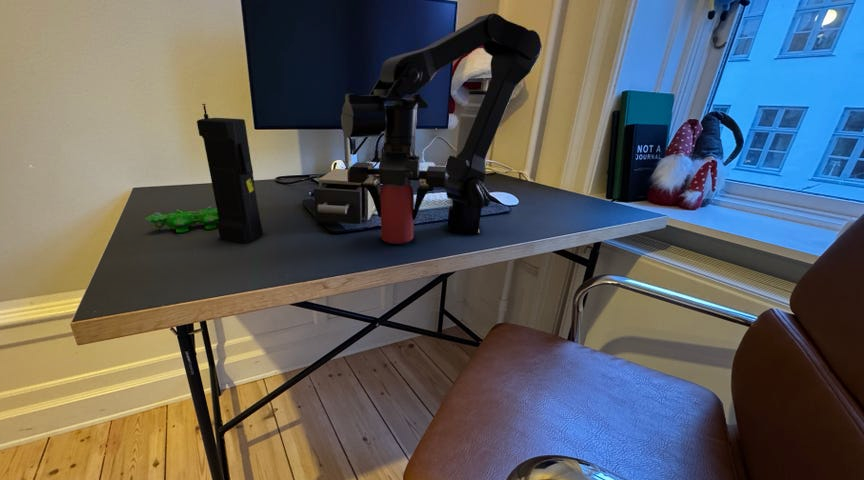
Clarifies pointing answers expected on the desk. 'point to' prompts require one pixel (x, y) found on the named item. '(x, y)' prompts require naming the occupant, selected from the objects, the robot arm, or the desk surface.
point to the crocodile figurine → (185, 219)
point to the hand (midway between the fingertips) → (396, 217)
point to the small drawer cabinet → (342, 178)
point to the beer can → (397, 213)
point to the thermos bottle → (469, 118)
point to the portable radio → (231, 177)
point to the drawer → (339, 203)
